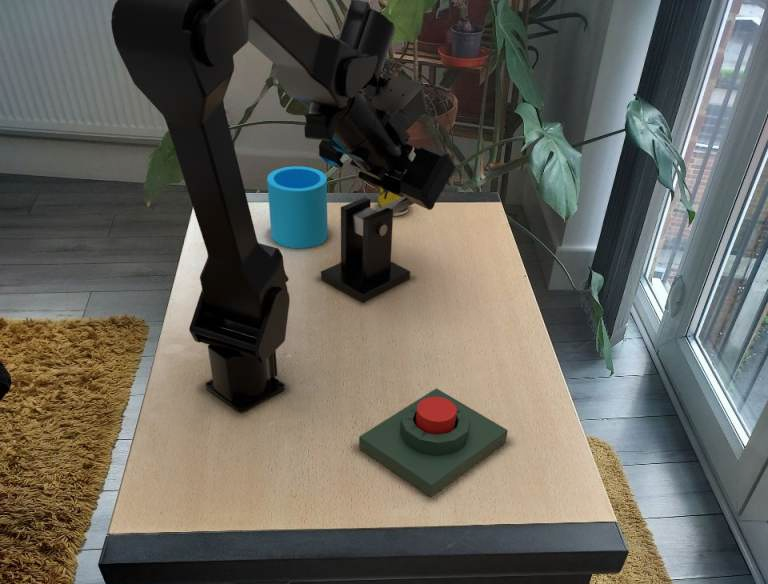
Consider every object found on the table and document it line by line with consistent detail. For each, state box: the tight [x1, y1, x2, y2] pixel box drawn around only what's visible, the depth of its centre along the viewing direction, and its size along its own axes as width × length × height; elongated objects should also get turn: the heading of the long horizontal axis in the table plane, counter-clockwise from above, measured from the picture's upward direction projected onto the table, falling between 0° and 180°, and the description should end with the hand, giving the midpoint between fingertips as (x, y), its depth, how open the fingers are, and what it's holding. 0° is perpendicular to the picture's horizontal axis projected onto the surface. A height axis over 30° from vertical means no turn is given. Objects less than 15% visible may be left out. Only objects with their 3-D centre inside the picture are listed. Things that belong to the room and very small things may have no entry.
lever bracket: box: [320, 196, 411, 303], centre depth 102 cm, size 9×8×10 cm
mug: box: [266, 165, 329, 249], centre depth 112 cm, size 12×8×8 cm
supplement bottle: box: [377, 186, 410, 217], centre depth 118 cm, size 5×5×8 cm
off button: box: [416, 397, 457, 435], centre depth 79 cm, size 4×4×2 cm
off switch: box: [358, 388, 509, 498], centre depth 81 cm, size 12×10×4 cm
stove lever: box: [353, 194, 436, 236], centre depth 102 cm, size 11×6×2 cm, turn 136°
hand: (413, 191), depth 104 cm, fingers closed, pressing on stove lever
